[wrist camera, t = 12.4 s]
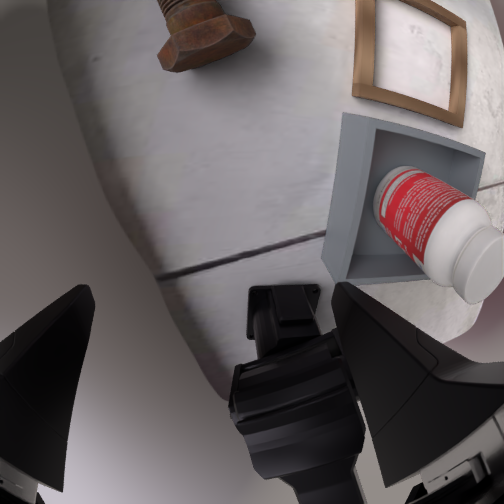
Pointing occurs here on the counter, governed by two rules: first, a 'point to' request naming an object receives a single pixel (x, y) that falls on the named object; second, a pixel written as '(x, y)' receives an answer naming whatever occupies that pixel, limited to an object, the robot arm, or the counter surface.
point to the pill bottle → (441, 231)
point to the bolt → (200, 34)
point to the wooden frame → (367, 91)
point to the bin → (364, 187)
